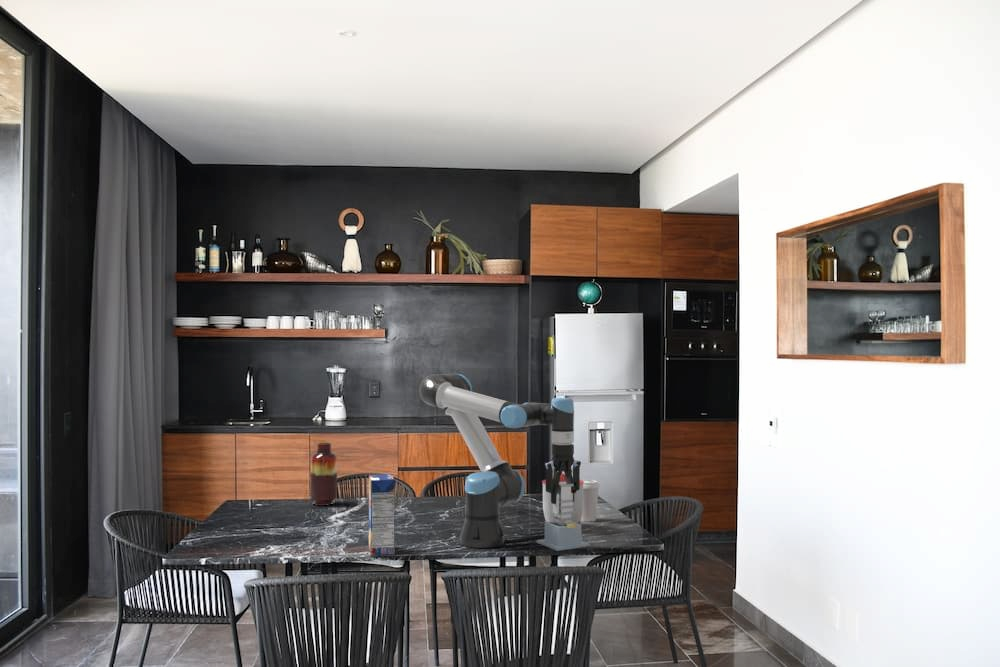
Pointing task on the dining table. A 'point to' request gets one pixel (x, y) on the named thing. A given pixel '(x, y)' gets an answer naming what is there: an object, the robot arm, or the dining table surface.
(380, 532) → the juice carton
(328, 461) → the vase
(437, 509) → the dining table surface
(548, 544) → the stand base
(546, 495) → the citrus juicer
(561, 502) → the column
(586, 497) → the coffee cup
